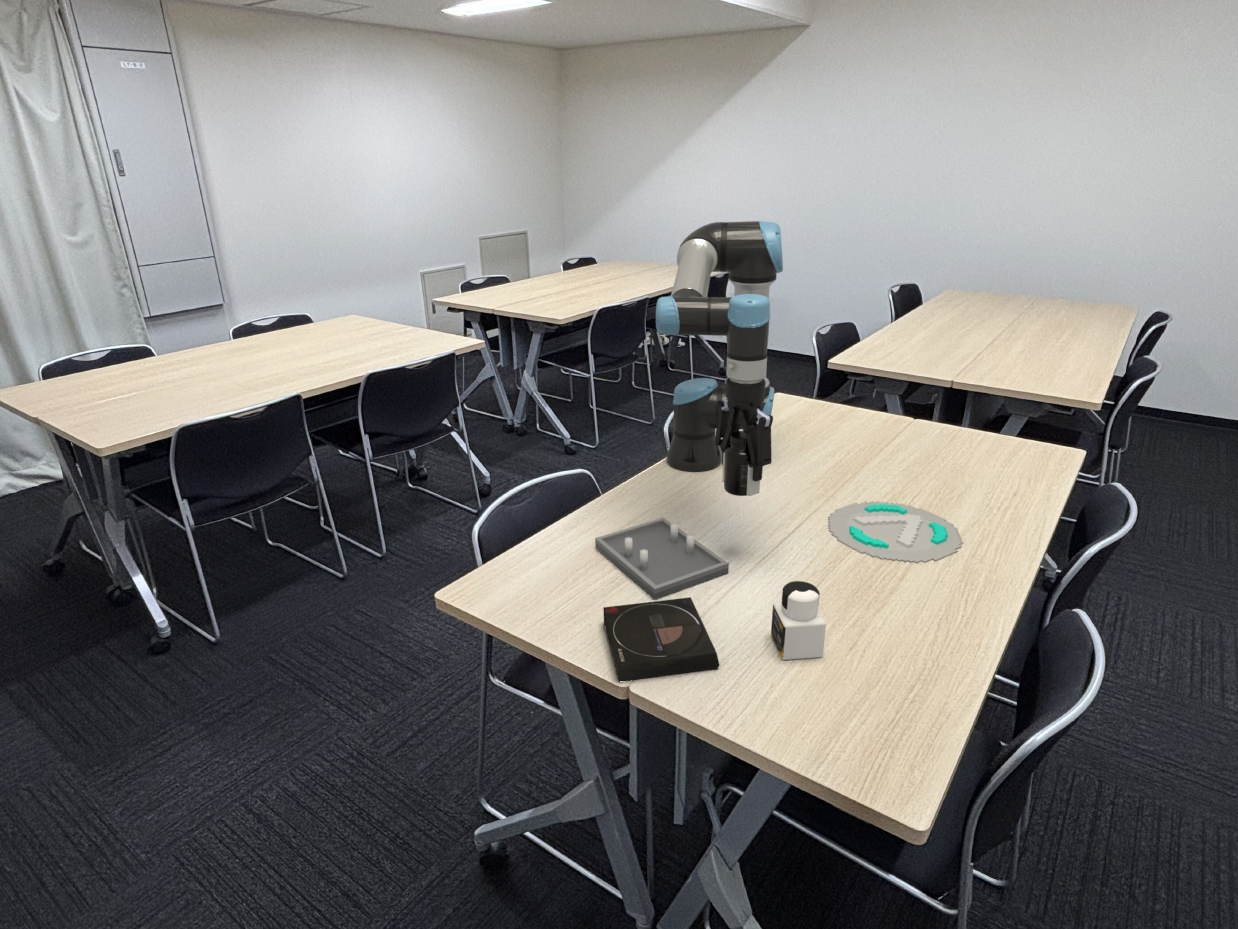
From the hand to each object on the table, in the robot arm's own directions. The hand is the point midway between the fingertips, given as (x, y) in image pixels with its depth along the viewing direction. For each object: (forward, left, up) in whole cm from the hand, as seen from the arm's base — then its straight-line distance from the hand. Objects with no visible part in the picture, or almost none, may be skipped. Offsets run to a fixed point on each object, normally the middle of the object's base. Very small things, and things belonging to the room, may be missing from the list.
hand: (740, 487), depth 144 cm
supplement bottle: (0, 0, -1) cm, 1 cm away
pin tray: (-8, -14, -17) cm, 24 cm away
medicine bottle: (+29, -10, -17) cm, 35 cm away
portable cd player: (+16, -30, -18) cm, 38 cm away
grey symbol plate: (+9, +38, -18) cm, 43 cm away
